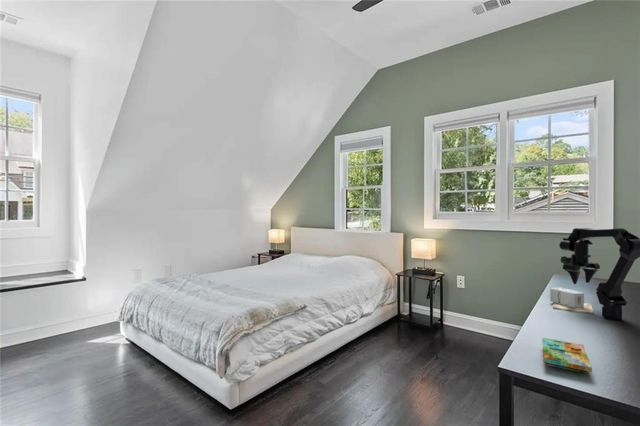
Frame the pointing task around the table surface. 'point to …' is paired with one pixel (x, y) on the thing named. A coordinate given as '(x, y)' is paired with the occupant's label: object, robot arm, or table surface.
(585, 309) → the gold metal board
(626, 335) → the table surface
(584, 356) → the puzzle game
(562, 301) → the supplement box
